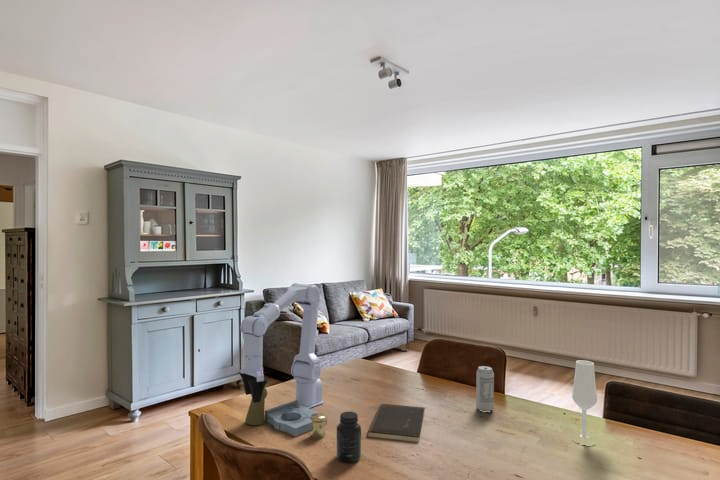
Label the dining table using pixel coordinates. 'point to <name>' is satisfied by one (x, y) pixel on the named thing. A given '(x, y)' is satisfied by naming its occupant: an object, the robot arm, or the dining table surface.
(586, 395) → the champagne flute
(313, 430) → the cylinder
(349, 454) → the supplement bottle
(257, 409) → the olive green tapered piece
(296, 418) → the block
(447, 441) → the dining table surface
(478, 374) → the energy drink can
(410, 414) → the hardcover book
